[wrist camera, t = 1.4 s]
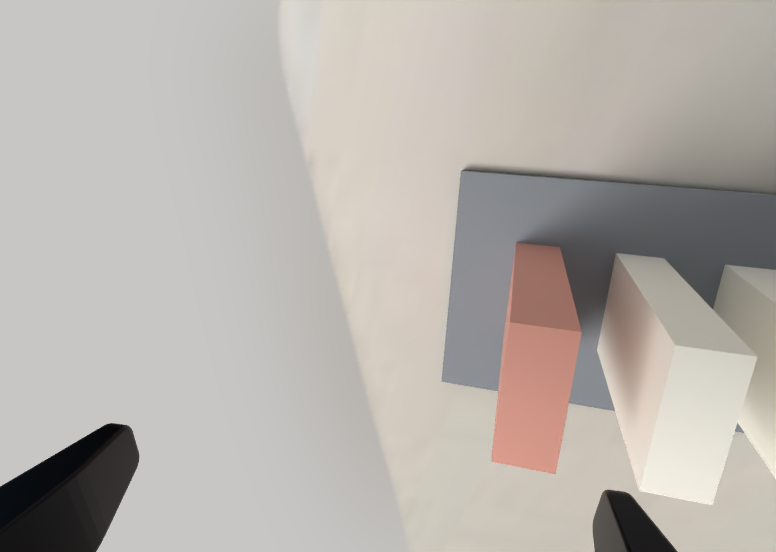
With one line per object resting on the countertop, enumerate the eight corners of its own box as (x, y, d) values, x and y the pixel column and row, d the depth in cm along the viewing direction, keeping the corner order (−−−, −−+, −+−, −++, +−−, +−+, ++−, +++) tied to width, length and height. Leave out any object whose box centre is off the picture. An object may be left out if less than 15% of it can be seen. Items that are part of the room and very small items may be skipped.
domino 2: (641, 356, 22) (712, 505, 14) (597, 350, 22) (639, 490, 14) (663, 258, 21) (757, 356, 12) (616, 253, 21) (675, 345, 13)
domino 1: (544, 342, 23) (555, 474, 15) (503, 336, 23) (491, 461, 15) (559, 247, 21) (581, 332, 13) (515, 242, 22) (510, 321, 14)
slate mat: (1028, 475, 20) (1037, 482, 20) (443, 377, 25) (441, 381, 25) (1163, 224, 17) (1177, 226, 16) (462, 170, 22) (461, 171, 22)
